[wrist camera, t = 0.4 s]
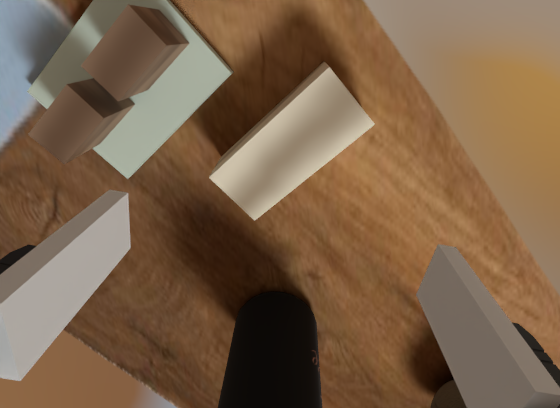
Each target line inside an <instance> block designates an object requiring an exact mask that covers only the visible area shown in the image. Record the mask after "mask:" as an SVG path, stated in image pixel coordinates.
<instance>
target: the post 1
mask: <svg viewBox="0 0 560 408" xmlns="http://www.w3.org/2000/svg"><path fill="white" fill-rule="evenodd" d="M134 105H135V104H134V103H133V102H132V101H131V100H130V99H129V98H126V99H124V100H121V101H117V100H116V99H115V98H114V97H113V96H112V95H111V94H110V93H109V92H108V91H107V90H106V89H105V88H104V87H103V86H101V85H100V84H99V83H98V82H97V81H96V80H95V79H94V78H92V79H88V80H83V81H79V82H74V83H70V84H66V86H65V87H64V88H63V89H62V91H61V92H60V93H59V95H58V96H57V97H56V99H55V100H54V101H53V102H52V104H51V105H50V106H49V108H48V109H47V110H46V112H45V113H44V114H43V115H42V117H41V118H40V119H39V121H38V122H37V123H36V125H35V126H34V127H33V128H32V130H31V131H30V132H29V134H28V135H29V136H31V137H32V138H33V139H34V140H35V141H37V142H38V143H39V144H40V145H41V146H43V147H44V148H45V149H46V150H47V151H49V152H50V153H51V154H52V155H54V156H55V157H56V158H57V159H58V160H60V161H61V162H62V163H63V164H66V163H67V162H69V161H71V160H73V159H74V158H76V157H78V156H80V155H82V154H83V153H85V152H87V151H89V150H90V149H92V148H94V147H96V146H97V145H99V144H100V143H101V142H102V141H103V140H104V139H105V138H106V137H107V136H108V134H109V133H110V132H111V131H112V130H113V129H114V128H115V127H116V125H117V124H118V123H119V122H120V121H121V120H122V119H123V118H124V116H125V115H126V114H127V113H128V112H129V111H130V110H131V109H132V107H133V106H134Z"/></svg>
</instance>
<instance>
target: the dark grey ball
mask: <svg viewBox="0 0 560 408" xmlns="http://www.w3.org/2000/svg"><path fill="white" fill-rule="evenodd" d="M431 408H467V407H466V405H465V402H464V400H463V398H462V396H461V394H460V391H459V389H458V387H457V385H456V382H455V380H451V381H449V382H447V383H445V384H444V385H443V386H442V387H440V389H439V390H438V391H437V393H436V394H435V396H434V398H433V401H432V403H431Z"/></svg>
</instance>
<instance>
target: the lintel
mask: <svg viewBox="0 0 560 408" xmlns="http://www.w3.org/2000/svg"><path fill="white" fill-rule="evenodd" d="M374 125H375V124H374V123H373V121H372V120H371V119H370V118H369V116H368V115H367V114H366V113H365V111H364V110H363V109H362V107H361V106H360V105H359V104H358V102H357V101H356V100H355V99H354V97H353V96H352V95H351V94H350V92H349V91H348V90H347V88H346V87H345V86H344V85H343V83H342V82H341V81H340V80H339V78H338V77H337V76H336V75H335V73H334V72H333V71H332V69H331V68H330V67H329V66H328V65H327V64H326V63H325V62H322V63H321V64H320V65H319V66H318V67H317V68H316V69H315V70H314V71H313V72H312V73H311V74H310V75H309V76H307V77H306V78H305V79H304V80H303V81H302V82H301V83H300V84H299V85H298V86H297V87H296V88H295V89H293V90H292V91H291V92H290V93H289V94H288V95H287V96H286V97H285V98H284V99H283V100H282V101H281V102H280V103H278V104H277V105H276V106H275V107H274V108H273V109H272V110H271V111H270V112H269V113H268V114H267V115H266V116H264V117H263V118H262V119H261V120H260V121H259V122H258V123H257V124H256V125H255V126H254V127H253V128H252V129H251V130H249V131H248V132H247V133H246V134H245V135H244V136H243V137H242V138H241V139H240V140H239V141H238V142H237V143H236V144H234V145H233V146H232V147H231V148H230V149H229V150H228V151H227V152H226V153H225V154H224V155H223V156H222V157H221V158H220V160H219V161H218V163H217V165H216V166H215V168H214V170H213V171H212V173H211V175H210V176H209V178H210V179H211V180H212V181H213V182H214V183H215V184H216V185H217V186H218V187H219V188H220V189H222V190H223V191H224V192H225V193H226V194H227V195H228V196H229V197H230V198H231V199H232V200H233V201H234V202H235V203H236V204H237V205H239V206H240V207H241V208H242V209H243V210H244V211H245V212H246V213H247V214H248V215H249V216H250V217H251V218H252V219H253V220H254V221H255V220H256V219H257V218H259V217H260V216H261V215H262V214H264V213H265V212H266V211H267V210H269V209H270V208H271V207H272V206H274V205H275V204H276V203H277V202H279V201H280V200H281V199H282V198H284V197H285V196H286V195H287V194H289V193H290V192H291V191H292V190H294V189H295V188H296V187H297V186H299V185H300V184H301V183H302V182H304V181H305V180H306V179H307V178H309V177H310V176H311V175H312V174H314V173H315V172H316V171H317V170H319V169H320V168H321V167H322V166H324V165H325V164H326V163H327V162H329V161H330V160H331V159H332V158H334V157H335V156H336V155H337V154H339V153H340V152H341V151H342V150H344V149H345V148H346V147H347V146H349V145H350V144H351V143H352V142H354V141H355V140H356V139H357V138H359V137H360V136H361V135H362V134H364V133H365V132H366V131H367V130H369V129H370V128H371V127H372V126H374Z"/></svg>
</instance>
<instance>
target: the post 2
mask: <svg viewBox="0 0 560 408" xmlns="http://www.w3.org/2000/svg"><path fill="white" fill-rule="evenodd" d="M188 45H189V42H188V41H187V40H186V39H185V38H184V36H183V35H182V34H181V33H180V32H179V31H178V30H177V29H176V28H175V27H174V25H173V24H172V23H171V22H170V21H169V20H168V19H167V18H166V17H165V16H164V14H163V13H162V12H161V11H160V10H159V9H153V8H147V7H141V6H135V5H129V4H128V5H127V6H126V8H125V9H124V10H123V11H122V13H121V14H120V15H119V17H118V18H117V19H116V21H115V22H114V23H113V24H112V26H111V27H110V28H109V30H108V31H107V32H106V34H105V35H104V36H103V37H102V39H101V40H100V41H99V43H98V44H97V45H96V47H95V48H94V49H93V50H92V52H91V53H90V54H89V56H88V57H87V58H86V60H85V61H84V62H83V63H82V65H81V67H82V68H84V69H85V70H86V71H87V72H88V73H89V74H90V75H91V76H92V77H93V78H94V79H95V80H96V81H97V82H98V83H99V84H100V85H101V86H103V87H104V88H105V89H106V90H107V91H108V92H109V93H110V94H111V95H112V96H113V97H114V98H115V99H116V100H117V101H121V100H124V99H126V98H129V97H131V96H134V95H136V94H139V93H142V92H144V91H147V90H148V89H149V88H150V87H151V86H152V85H153V84H154V83H155V82H156V81H157V79H158V78H159V77H160V76H161V75H162V74H163V73H164V72H165V70H166V69H167V68H168V67H169V66H170V65H171V64H172V63H173V61H174V60H175V59H176V58H177V57H178V56H179V55H180V54H181V52H182V51H183V50H184V49H185V48H186V47H187V46H188Z"/></svg>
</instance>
